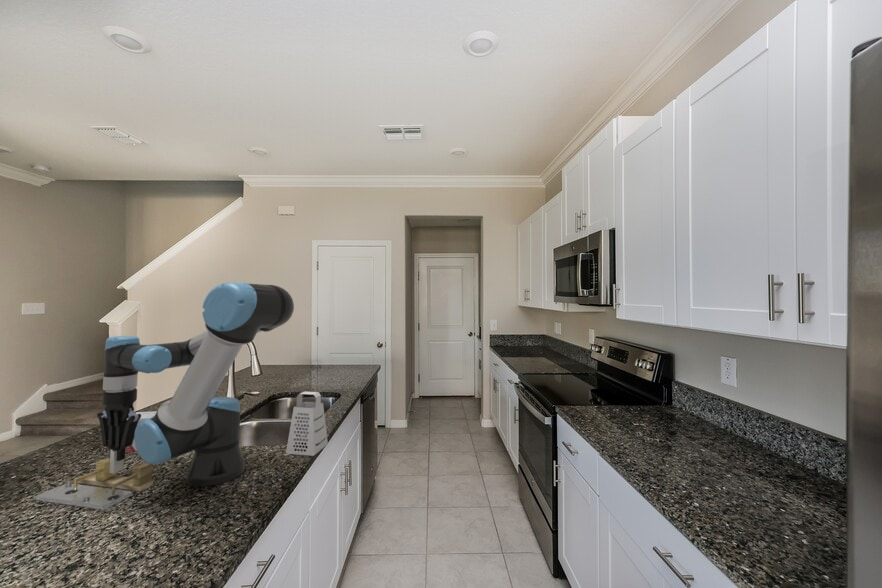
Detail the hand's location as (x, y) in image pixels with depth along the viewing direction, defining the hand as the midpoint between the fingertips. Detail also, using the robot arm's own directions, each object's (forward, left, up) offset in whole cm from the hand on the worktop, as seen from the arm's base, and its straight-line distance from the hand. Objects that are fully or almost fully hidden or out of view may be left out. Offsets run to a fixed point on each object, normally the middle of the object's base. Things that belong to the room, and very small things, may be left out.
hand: (116, 471), depth 104 cm
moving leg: (+2, +4, -2) cm, 5 cm away
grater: (-40, -34, -3) cm, 53 cm away
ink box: (+18, -22, -3) cm, 29 cm away
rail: (-1, +4, -3) cm, 5 cm away
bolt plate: (-1, +8, -3) cm, 9 cm away
